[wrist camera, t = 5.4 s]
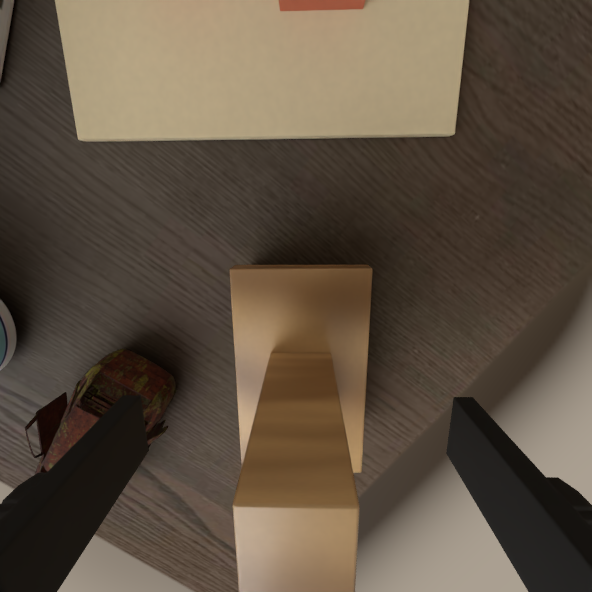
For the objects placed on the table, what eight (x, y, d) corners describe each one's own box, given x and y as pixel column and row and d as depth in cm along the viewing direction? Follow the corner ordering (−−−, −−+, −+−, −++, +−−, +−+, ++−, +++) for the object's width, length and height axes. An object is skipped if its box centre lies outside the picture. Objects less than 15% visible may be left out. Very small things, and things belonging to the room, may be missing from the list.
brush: (243, 258, 19) (132, 340, 7) (360, 258, 19) (460, 341, 7) (251, 430, 22) (185, 698, 10) (352, 431, 22) (411, 706, 10)
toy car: (104, 322, 20) (43, 355, 16) (199, 377, 21) (169, 424, 16) (37, 452, 23) (-32, 514, 18) (124, 496, 24) (79, 566, 19)
